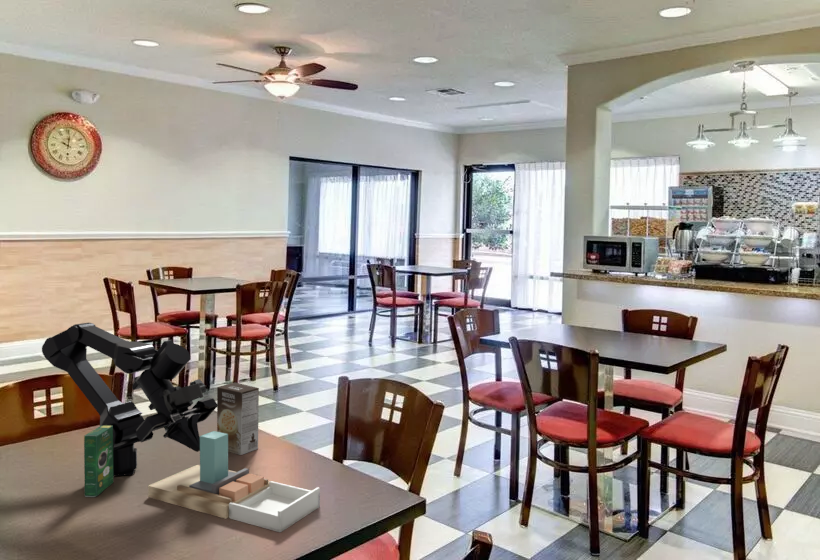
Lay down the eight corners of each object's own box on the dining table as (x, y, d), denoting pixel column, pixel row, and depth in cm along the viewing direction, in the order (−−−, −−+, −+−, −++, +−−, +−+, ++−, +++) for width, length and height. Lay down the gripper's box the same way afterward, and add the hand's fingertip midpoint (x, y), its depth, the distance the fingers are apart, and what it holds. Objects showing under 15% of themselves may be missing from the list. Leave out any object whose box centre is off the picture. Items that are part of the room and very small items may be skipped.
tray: (228, 518, 129) (228, 498, 129) (271, 494, 141) (271, 476, 140) (280, 532, 124) (280, 511, 123) (319, 506, 135) (319, 487, 135)
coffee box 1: (101, 482, 145) (100, 423, 144) (114, 482, 145) (113, 424, 144) (83, 497, 137) (82, 435, 136) (97, 497, 137) (96, 435, 136)
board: (148, 497, 138) (148, 480, 138) (197, 475, 151) (197, 460, 150) (226, 518, 129) (225, 501, 128) (271, 493, 141) (271, 477, 141)
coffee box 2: (215, 448, 169) (215, 386, 167) (234, 441, 174) (234, 381, 173) (241, 455, 164) (241, 392, 162) (259, 448, 169) (259, 387, 168)
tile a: (236, 489, 137) (236, 479, 137) (248, 482, 141) (248, 473, 140) (251, 492, 135) (251, 483, 135) (263, 486, 139) (263, 476, 139)
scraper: (189, 490, 135) (189, 440, 135) (223, 474, 144) (223, 427, 144) (215, 497, 132) (215, 445, 131) (248, 480, 141) (248, 432, 140)
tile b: (219, 497, 133) (219, 488, 132) (232, 490, 136) (232, 481, 136) (234, 501, 131) (234, 491, 131) (248, 494, 134) (248, 485, 134)
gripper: (145, 378, 133) (186, 440, 129) (211, 362, 150) (249, 416, 146) (118, 411, 137) (157, 472, 133) (185, 392, 154) (222, 446, 150)
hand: (199, 450), depth 140 cm, fingers closed
